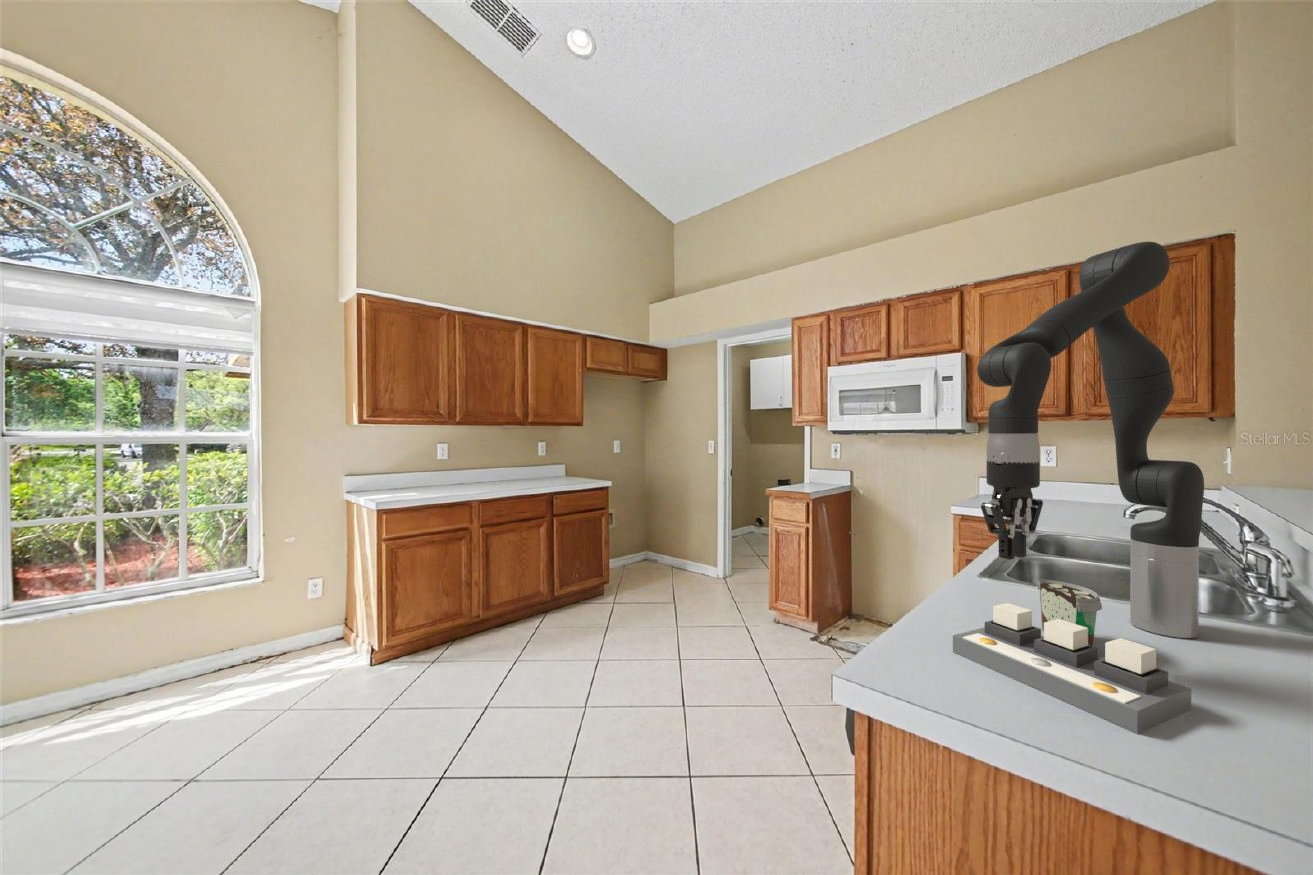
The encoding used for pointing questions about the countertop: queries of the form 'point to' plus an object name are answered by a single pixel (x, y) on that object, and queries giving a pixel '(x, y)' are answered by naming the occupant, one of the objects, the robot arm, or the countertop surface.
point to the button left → (1012, 616)
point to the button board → (1076, 676)
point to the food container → (1069, 604)
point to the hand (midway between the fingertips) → (1012, 556)
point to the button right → (1130, 655)
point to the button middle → (1066, 634)
